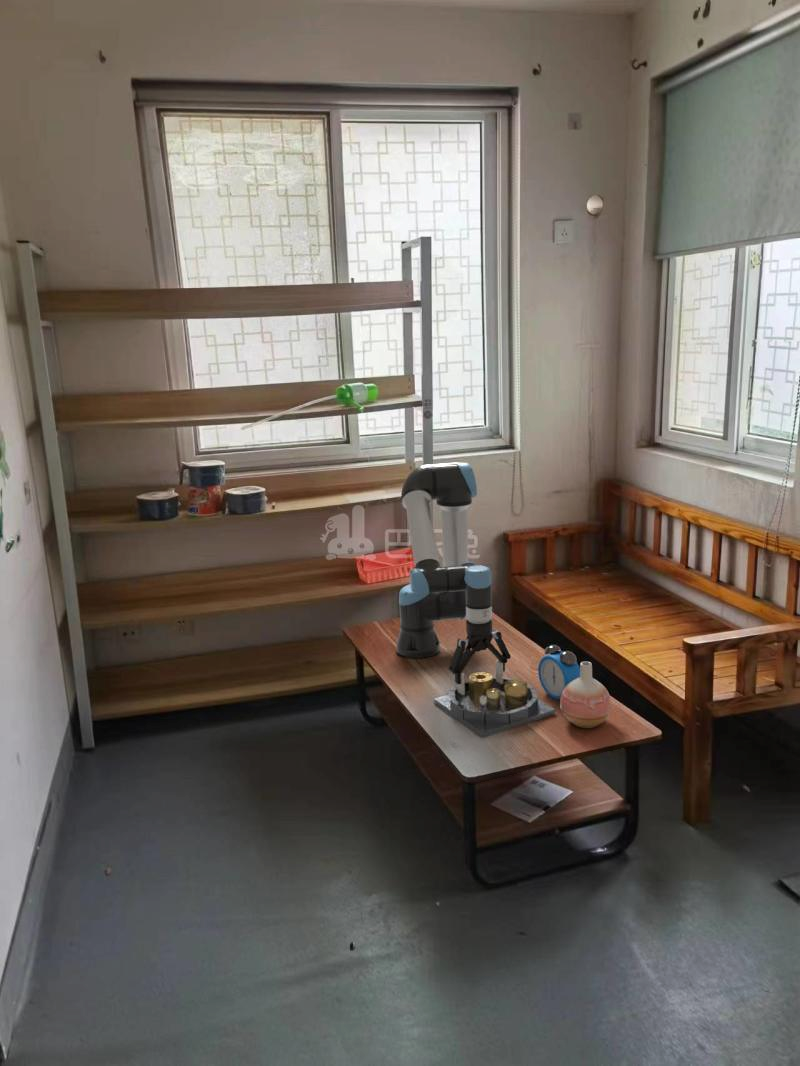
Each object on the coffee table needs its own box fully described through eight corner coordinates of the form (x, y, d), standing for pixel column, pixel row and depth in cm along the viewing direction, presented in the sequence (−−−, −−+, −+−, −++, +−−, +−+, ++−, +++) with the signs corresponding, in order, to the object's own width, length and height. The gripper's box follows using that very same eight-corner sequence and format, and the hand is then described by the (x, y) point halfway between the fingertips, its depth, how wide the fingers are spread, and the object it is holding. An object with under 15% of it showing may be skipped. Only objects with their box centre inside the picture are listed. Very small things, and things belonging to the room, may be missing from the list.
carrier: (434, 703, 236) (433, 679, 234) (503, 683, 247) (503, 660, 245) (481, 737, 214) (481, 712, 212) (555, 714, 225) (555, 689, 224)
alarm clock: (537, 690, 241) (537, 644, 237) (553, 685, 244) (553, 639, 240) (566, 707, 230) (567, 658, 226) (583, 701, 232) (583, 653, 229)
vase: (579, 739, 211) (580, 677, 207) (550, 718, 223) (550, 659, 219) (621, 727, 216) (623, 667, 212) (590, 707, 228) (591, 650, 224)
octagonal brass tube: (465, 694, 237) (465, 675, 236) (484, 689, 240) (483, 670, 238) (477, 702, 231) (477, 683, 230) (496, 697, 234) (496, 678, 233)
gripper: (449, 632, 221) (451, 702, 226) (522, 614, 232) (522, 682, 238) (435, 624, 228) (437, 693, 233) (506, 607, 239) (507, 673, 244)
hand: (480, 687), depth 235 cm, fingers open, 13 cm apart
